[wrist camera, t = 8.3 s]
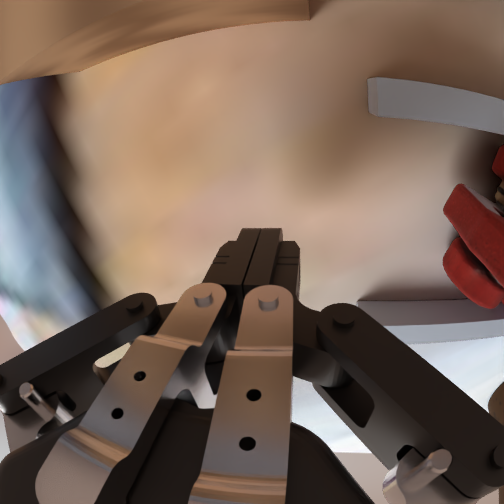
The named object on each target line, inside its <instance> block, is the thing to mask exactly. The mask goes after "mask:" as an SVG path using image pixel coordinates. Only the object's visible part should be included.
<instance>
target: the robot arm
mask: <svg viewBox="0 0 504 504" xmlns="http://www.w3.org/2000/svg"><path fill="white" fill-rule="evenodd" d="M299 290H300V248H299V246H298V245H297V243H296V242H295V241H283V234H282V228H262V229H261V228H243V229H242V230H241V232H240V234H239V236H238V238H237V241H228V242H227V243H226V244H224V245H223V246H222V247H220V249H219V251H218V253H217V255H216V257H215V258H214V260H213V264H211V266H210V268H209V270H208V272H207V274H206V276H205V278H204V280H203V282H202V283H201V284H197V285H194V286H192V287H190V288H189V289H187V290H186V291H185V292H184V293H183V295H182V296H181V298H180V299H179V301H178V302H176V303H170V304H164V305H157V302H156V299H155V298H154V296H152V295H151V294H148V293H136V294H133V295H130V296H128V297H126V298H124V299H122V300H120V301H118V302H116V303H114V304H113V305H111V306H109V307H107V308H105V309H103V310H101V311H99V312H97V313H95V314H94V315H92V316H90V317H88V318H86V319H84V320H82V321H80V322H78V323H77V324H75V325H73V326H71V327H69V328H67V329H65V330H64V331H62V332H60V333H58V334H56V335H54V336H52V337H51V338H49V339H47V340H45V341H43V342H41V343H39V344H38V345H36V346H34V347H32V348H30V349H28V350H27V351H25V352H23V353H21V354H20V355H18V356H16V357H14V358H12V359H10V360H9V361H7V362H5V363H3V364H1V365H0V411H1V412H2V413H3V416H4V422H5V428H6V433H7V439H8V444H9V448H10V453H9V454H8V455H7V456H6V457H5V458H4V459H3V460H2V461H1V463H0V504H375V503H374V502H373V501H372V500H371V499H370V497H369V496H368V495H367V494H366V493H365V491H364V490H363V489H362V488H361V487H360V485H359V484H358V483H357V482H356V480H355V479H354V478H353V477H352V475H351V474H350V473H349V472H348V471H347V469H346V468H345V467H344V466H343V464H342V463H341V462H340V460H339V459H338V458H337V457H336V456H335V454H334V453H333V452H332V450H331V449H330V448H329V447H328V445H327V444H326V443H325V442H324V441H323V440H322V439H321V438H319V437H318V436H317V435H315V434H314V433H313V432H311V431H310V430H308V429H306V428H304V427H303V426H300V425H298V424H296V423H294V422H292V400H293V376H295V377H297V378H300V379H303V380H306V381H309V382H312V384H313V387H314V389H315V390H316V391H317V392H318V394H319V395H320V396H321V397H322V398H323V399H324V400H325V402H326V403H327V404H328V405H329V406H330V407H331V408H332V409H333V411H334V412H335V413H336V414H337V415H338V416H339V417H340V418H341V419H342V421H343V422H344V423H345V424H346V425H347V426H348V427H349V428H350V429H351V430H352V432H353V433H354V434H355V435H356V436H357V437H358V438H359V439H360V440H361V441H362V442H363V443H364V445H365V446H366V447H367V448H368V449H369V450H370V451H371V452H372V453H373V454H374V455H375V456H376V457H377V458H378V459H379V460H380V462H382V464H383V465H384V466H385V467H386V468H387V469H388V470H389V472H388V473H387V475H386V477H385V479H384V482H383V494H384V496H385V498H386V500H387V501H388V503H389V504H476V503H477V501H478V500H479V499H480V498H482V497H484V496H485V495H487V494H489V493H491V492H493V491H495V490H497V489H499V488H500V487H502V486H504V426H503V425H502V424H501V423H500V422H498V421H497V420H496V419H495V418H494V417H493V416H491V415H490V414H489V413H488V412H487V411H486V410H484V409H483V408H482V407H481V406H480V405H479V404H477V403H476V402H475V401H474V400H473V399H472V398H470V397H469V396H468V395H467V394H466V393H464V392H463V391H462V390H461V389H460V388H458V387H457V386H456V385H455V384H454V383H452V382H451V381H450V380H449V379H448V378H446V377H445V376H444V375H443V374H442V373H440V372H439V371H438V370H437V369H436V368H434V367H433V366H432V365H431V364H429V363H428V362H427V361H426V360H425V359H423V358H422V357H421V356H420V355H418V354H417V353H416V352H415V351H414V350H412V349H411V348H410V347H409V346H407V345H406V344H405V343H404V342H402V341H401V340H400V339H399V338H397V337H396V336H395V335H394V334H392V333H391V332H390V331H389V330H387V329H386V328H385V327H384V326H382V325H381V324H380V323H379V322H377V321H376V320H375V319H374V318H372V317H371V316H370V315H369V314H367V313H366V312H365V311H363V310H362V309H361V308H359V307H357V306H355V305H352V304H347V303H337V304H332V305H329V306H327V307H325V308H324V309H323V310H322V311H321V312H319V311H315V310H312V309H309V308H307V307H305V306H304V305H302V304H301V303H300V302H299ZM128 342H129V343H130V345H131V346H130V348H129V349H128V351H127V352H126V354H125V355H124V357H123V358H122V359H120V360H118V361H117V362H115V363H113V364H111V365H109V366H108V367H105V368H100V367H97V366H96V365H95V361H96V360H98V359H99V358H101V357H103V356H105V355H106V354H108V353H110V352H112V351H114V350H116V349H117V348H119V347H121V346H123V345H125V344H126V343H128Z"/></svg>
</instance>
